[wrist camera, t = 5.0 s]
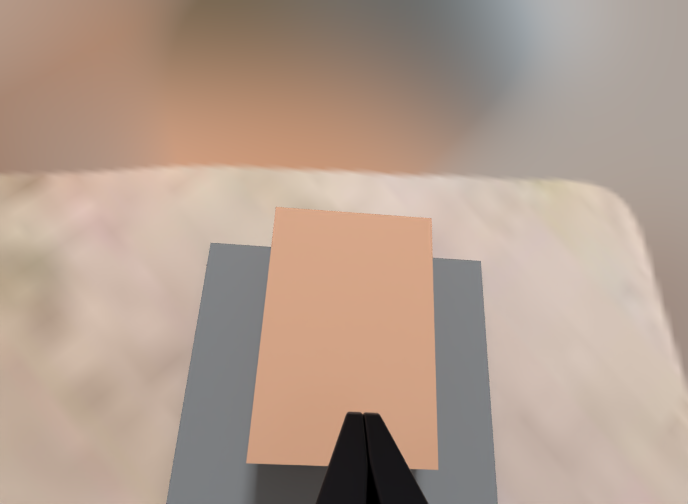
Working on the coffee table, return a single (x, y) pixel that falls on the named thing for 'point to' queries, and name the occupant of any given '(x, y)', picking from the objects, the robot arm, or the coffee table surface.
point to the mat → (240, 377)
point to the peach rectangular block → (345, 336)
